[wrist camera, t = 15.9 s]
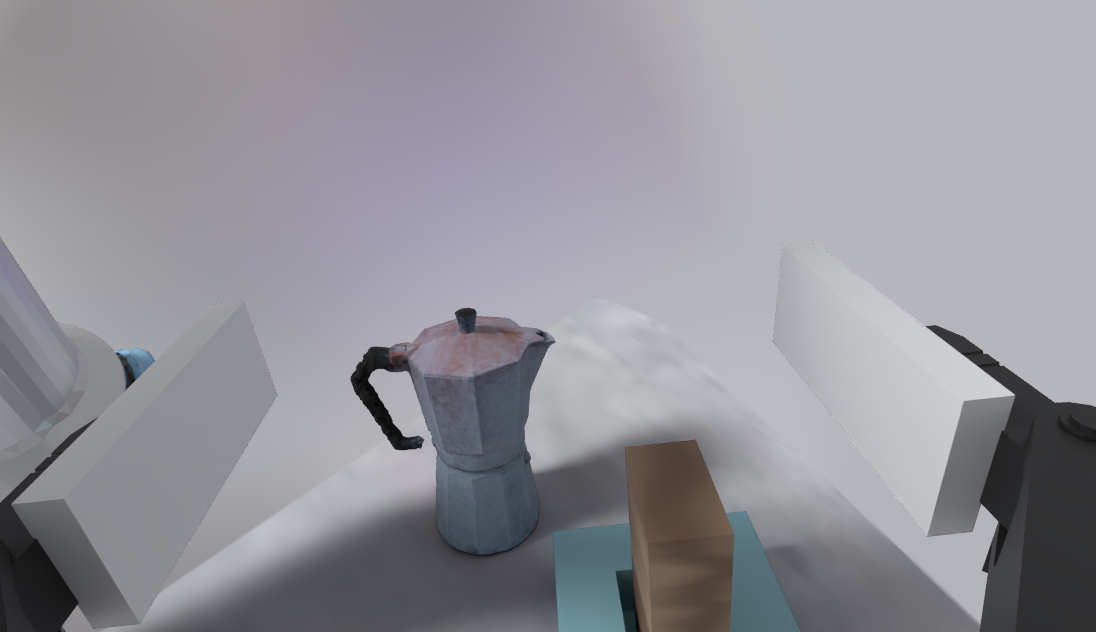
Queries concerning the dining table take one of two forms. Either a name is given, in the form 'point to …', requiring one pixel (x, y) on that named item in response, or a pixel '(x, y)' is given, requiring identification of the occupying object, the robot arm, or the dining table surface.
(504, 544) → the moka pot
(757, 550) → the slotted base
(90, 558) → the robot arm
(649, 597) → the walnut board
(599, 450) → the dining table surface
